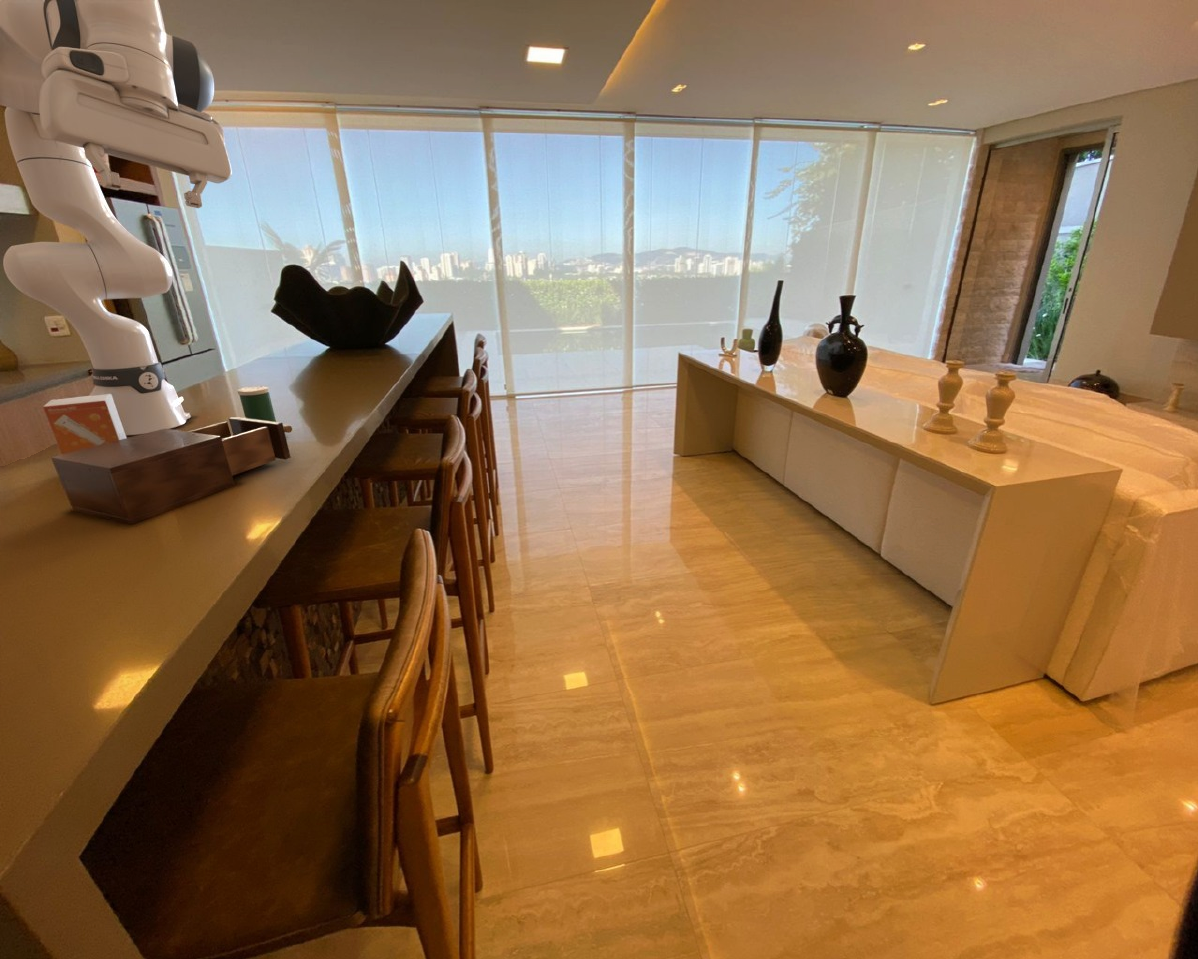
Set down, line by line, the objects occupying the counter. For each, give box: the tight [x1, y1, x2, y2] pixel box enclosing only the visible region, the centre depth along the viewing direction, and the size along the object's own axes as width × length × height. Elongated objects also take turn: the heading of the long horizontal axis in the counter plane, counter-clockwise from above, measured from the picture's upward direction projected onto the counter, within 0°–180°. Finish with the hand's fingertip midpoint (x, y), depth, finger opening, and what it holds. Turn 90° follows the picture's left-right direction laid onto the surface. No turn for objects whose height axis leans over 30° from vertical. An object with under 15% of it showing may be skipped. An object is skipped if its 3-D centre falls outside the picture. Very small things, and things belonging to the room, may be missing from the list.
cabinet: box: [50, 428, 236, 525], centre depth 82 cm, size 16×14×9 cm
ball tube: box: [237, 385, 277, 422], centre depth 110 cm, size 5×5×11 cm
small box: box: [42, 394, 127, 455], centre depth 94 cm, size 8×6×13 cm
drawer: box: [186, 416, 293, 477], centre depth 95 cm, size 19×12×7 cm, turn 159°
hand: (155, 197), depth 74 cm, fingers open, 8 cm apart
